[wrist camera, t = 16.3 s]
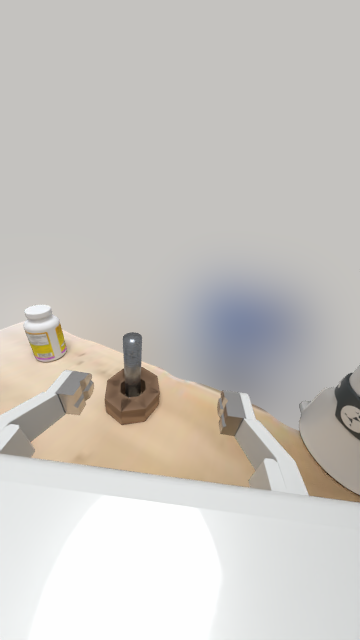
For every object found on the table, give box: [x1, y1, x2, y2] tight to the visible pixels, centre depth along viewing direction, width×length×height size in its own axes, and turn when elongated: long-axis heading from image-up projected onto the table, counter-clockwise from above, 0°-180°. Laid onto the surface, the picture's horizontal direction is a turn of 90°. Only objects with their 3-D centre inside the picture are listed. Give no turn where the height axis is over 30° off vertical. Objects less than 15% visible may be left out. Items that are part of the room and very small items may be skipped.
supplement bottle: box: [23, 305, 67, 362], centre depth 42 cm, size 7×7×13 cm
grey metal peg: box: [123, 332, 142, 398], centre depth 33 cm, size 3×3×16 cm
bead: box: [105, 367, 160, 425], centre depth 36 cm, size 10×10×4 cm
